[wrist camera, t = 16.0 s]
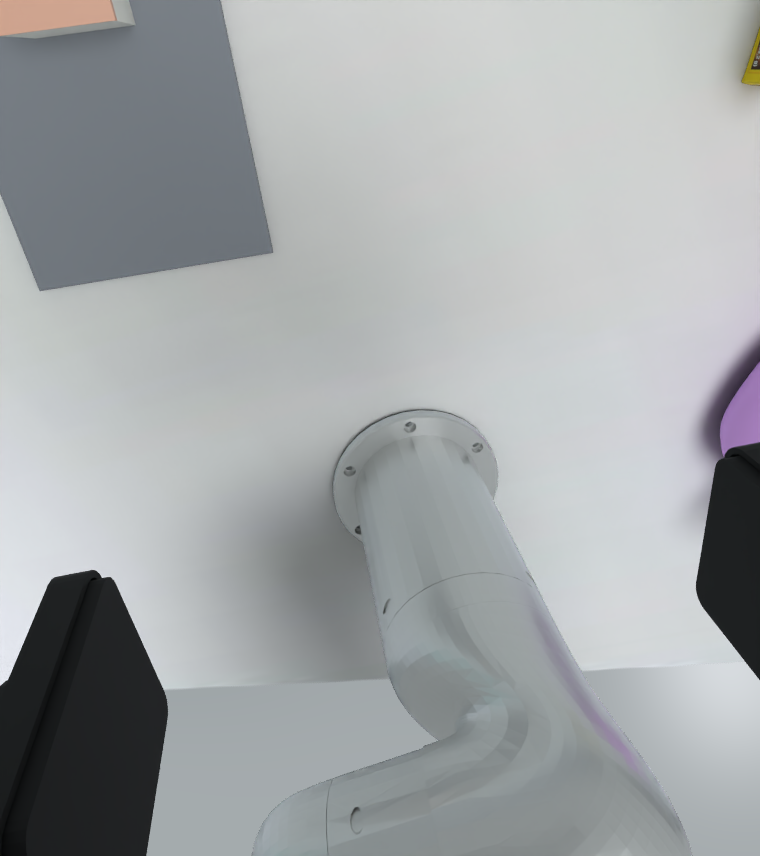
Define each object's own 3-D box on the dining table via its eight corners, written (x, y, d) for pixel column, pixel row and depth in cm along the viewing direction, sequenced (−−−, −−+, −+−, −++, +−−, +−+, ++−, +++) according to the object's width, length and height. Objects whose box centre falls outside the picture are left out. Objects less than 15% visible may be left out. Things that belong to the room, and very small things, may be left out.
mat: (272, 250, 40) (272, 252, 40) (41, 289, 39) (39, 291, 39) (156, -305, 28) (154, -309, 28) (-183, -267, 27) (-188, -272, 27)
